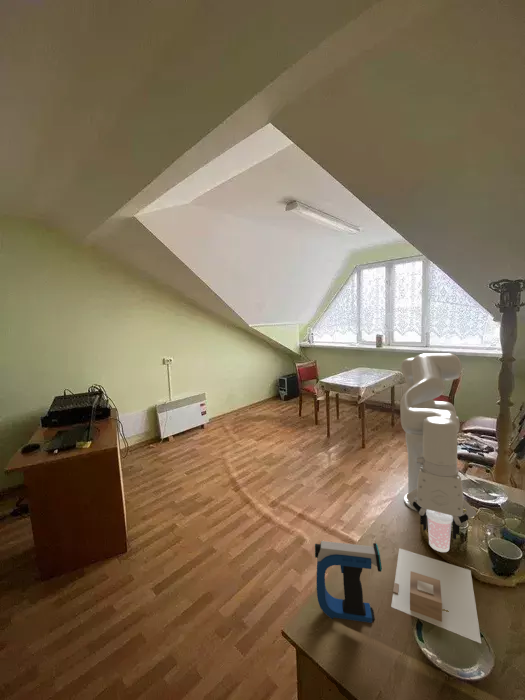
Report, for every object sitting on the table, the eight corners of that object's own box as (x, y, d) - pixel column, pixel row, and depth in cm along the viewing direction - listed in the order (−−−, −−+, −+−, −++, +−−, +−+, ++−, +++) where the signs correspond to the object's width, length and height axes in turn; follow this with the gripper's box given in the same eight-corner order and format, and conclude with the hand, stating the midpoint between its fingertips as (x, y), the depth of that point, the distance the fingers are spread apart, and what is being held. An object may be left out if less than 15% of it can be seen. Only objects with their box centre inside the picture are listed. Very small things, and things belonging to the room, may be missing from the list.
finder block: (410, 587, 81) (410, 570, 81) (440, 597, 78) (440, 579, 78) (409, 609, 75) (409, 591, 75) (441, 621, 72) (441, 602, 71)
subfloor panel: (390, 548, 97) (390, 544, 96) (481, 577, 85) (481, 572, 84) (380, 606, 78) (380, 601, 78) (495, 654, 66) (495, 647, 66)
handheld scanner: (383, 630, 72) (382, 555, 70) (317, 620, 75) (314, 548, 74) (380, 612, 76) (378, 541, 75) (317, 603, 80) (314, 535, 78)
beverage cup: (423, 535, 81) (423, 487, 80) (448, 539, 79) (449, 490, 78) (428, 552, 75) (428, 500, 74) (456, 556, 73) (456, 504, 72)
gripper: (400, 465, 76) (401, 529, 78) (483, 481, 67) (481, 553, 69) (404, 453, 83) (404, 513, 84) (479, 466, 74) (478, 533, 75)
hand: (439, 530), depth 77 cm, fingers closed on beverage cup, 6 cm apart
